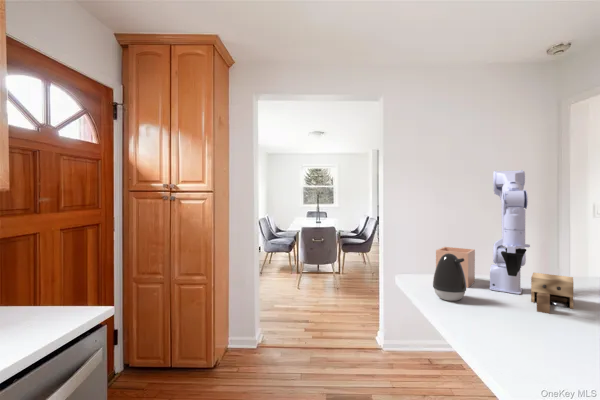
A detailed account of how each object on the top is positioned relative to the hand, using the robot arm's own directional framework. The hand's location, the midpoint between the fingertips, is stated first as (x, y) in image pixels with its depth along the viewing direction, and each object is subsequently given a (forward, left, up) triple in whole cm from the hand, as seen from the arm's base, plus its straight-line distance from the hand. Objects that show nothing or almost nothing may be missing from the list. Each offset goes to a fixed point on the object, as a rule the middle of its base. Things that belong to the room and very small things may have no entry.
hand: (513, 273), depth 101 cm
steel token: (+11, +12, -11) cm, 19 cm away
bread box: (+9, +14, -10) cm, 20 cm away
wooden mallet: (+9, +8, -11) cm, 16 cm away
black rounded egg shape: (-18, -3, -11) cm, 21 cm away
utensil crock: (-22, +21, -10) cm, 32 cm away
